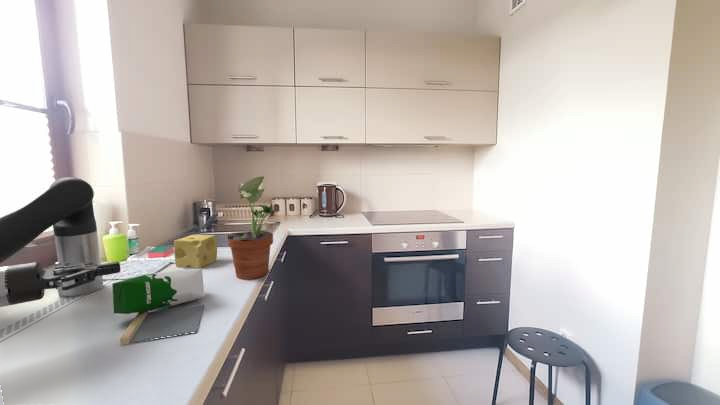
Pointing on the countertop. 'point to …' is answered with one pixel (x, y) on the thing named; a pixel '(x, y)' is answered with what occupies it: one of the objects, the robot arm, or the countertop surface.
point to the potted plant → (252, 238)
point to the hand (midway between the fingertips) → (120, 266)
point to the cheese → (195, 251)
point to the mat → (162, 324)
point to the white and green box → (157, 290)
